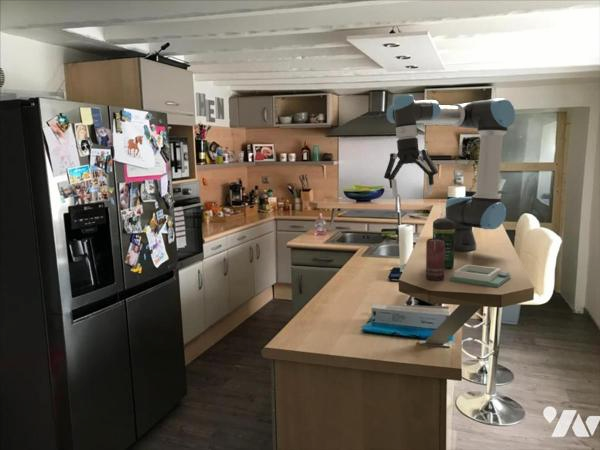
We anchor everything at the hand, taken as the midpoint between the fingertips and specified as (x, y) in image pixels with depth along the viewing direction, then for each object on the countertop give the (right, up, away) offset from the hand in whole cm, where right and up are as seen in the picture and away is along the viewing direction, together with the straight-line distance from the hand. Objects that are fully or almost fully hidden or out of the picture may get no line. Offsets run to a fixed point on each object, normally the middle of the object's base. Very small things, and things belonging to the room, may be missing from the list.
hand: (412, 195), depth 183 cm
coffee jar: (+13, -27, +6) cm, 31 cm away
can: (+5, -30, -12) cm, 33 cm away
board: (+20, -30, -14) cm, 39 cm away
